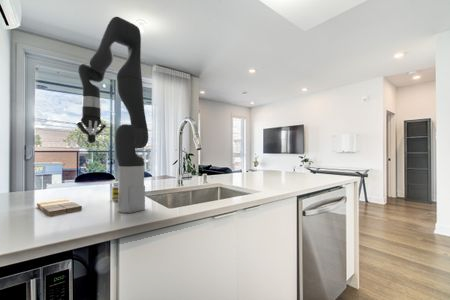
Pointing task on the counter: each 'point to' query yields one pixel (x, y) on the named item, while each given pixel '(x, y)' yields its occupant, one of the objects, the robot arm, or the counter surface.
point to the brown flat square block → (61, 208)
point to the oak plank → (52, 203)
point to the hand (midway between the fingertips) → (91, 142)
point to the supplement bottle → (115, 191)
